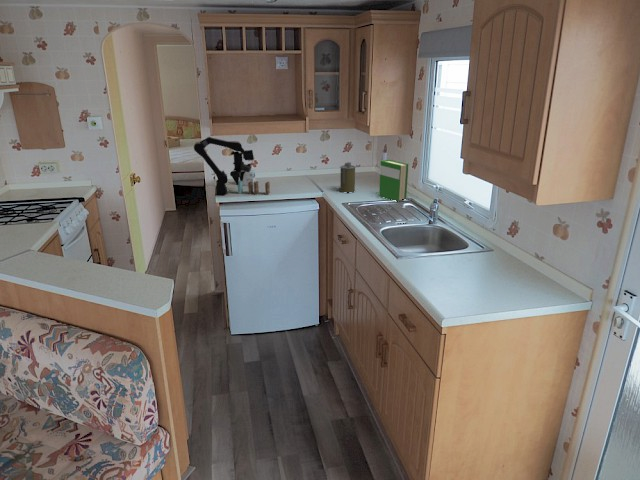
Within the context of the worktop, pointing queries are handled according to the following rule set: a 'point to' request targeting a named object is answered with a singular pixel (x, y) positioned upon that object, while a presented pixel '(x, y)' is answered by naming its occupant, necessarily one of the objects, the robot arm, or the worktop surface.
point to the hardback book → (393, 179)
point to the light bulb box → (248, 178)
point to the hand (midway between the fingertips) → (239, 183)
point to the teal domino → (240, 187)
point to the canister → (347, 178)
